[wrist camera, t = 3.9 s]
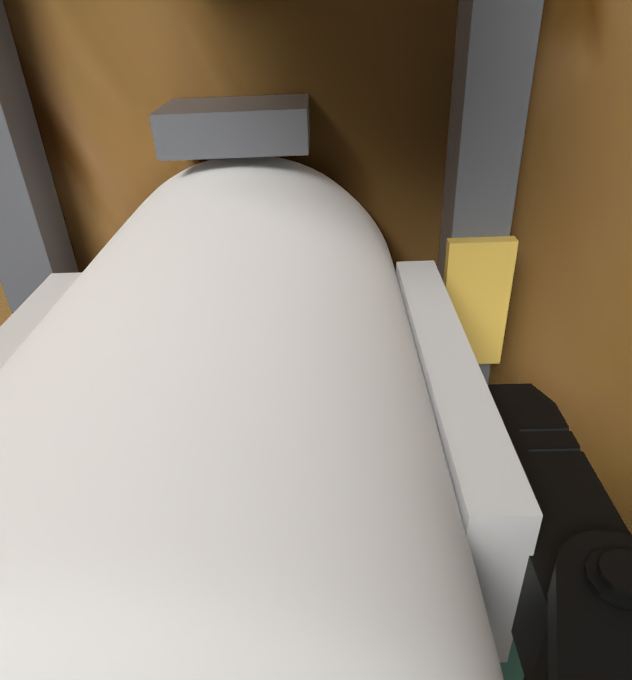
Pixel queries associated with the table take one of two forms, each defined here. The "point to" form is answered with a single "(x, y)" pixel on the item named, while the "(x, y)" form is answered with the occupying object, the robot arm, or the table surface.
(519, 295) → the table surface
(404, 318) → the can
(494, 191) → the grey flat open frame
